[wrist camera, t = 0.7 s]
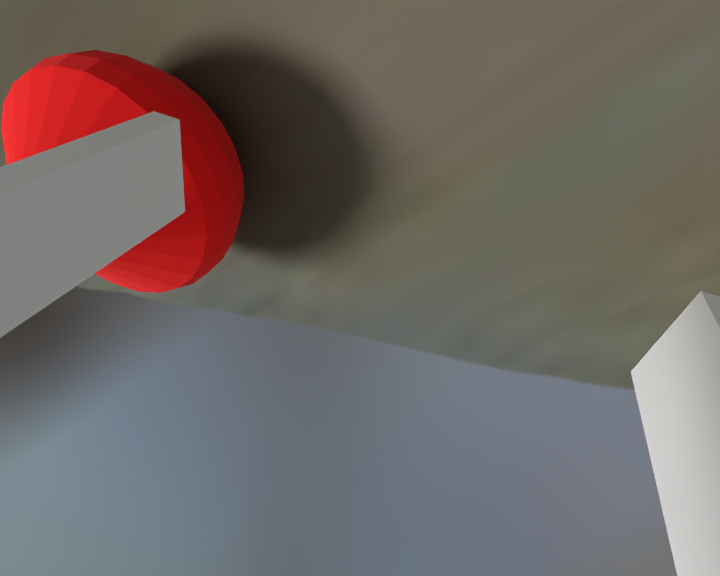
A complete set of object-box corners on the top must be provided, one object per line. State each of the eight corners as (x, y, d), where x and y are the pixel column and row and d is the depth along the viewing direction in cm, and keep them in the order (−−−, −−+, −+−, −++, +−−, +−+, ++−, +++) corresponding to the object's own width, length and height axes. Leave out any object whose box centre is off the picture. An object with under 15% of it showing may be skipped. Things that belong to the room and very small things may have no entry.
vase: (160, 252, 49) (-8, 373, 34) (61, 73, 40) (-222, 129, 25) (304, 233, 41) (171, 377, 26) (221, 7, 33) (-47, 31, 18)
